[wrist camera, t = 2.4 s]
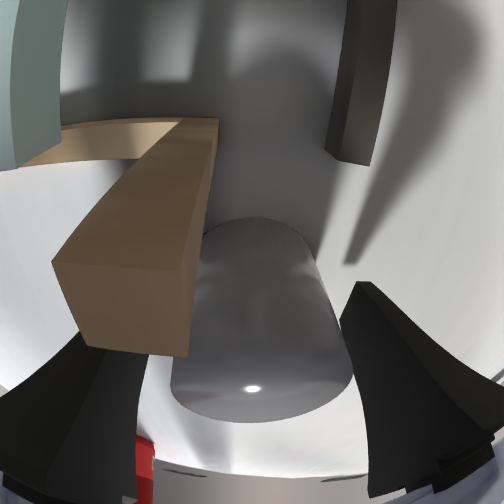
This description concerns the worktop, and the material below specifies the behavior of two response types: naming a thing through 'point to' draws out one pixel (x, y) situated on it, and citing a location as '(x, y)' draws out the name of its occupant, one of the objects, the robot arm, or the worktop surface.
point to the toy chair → (185, 199)
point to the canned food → (144, 470)
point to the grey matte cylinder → (259, 328)
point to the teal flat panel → (29, 78)
